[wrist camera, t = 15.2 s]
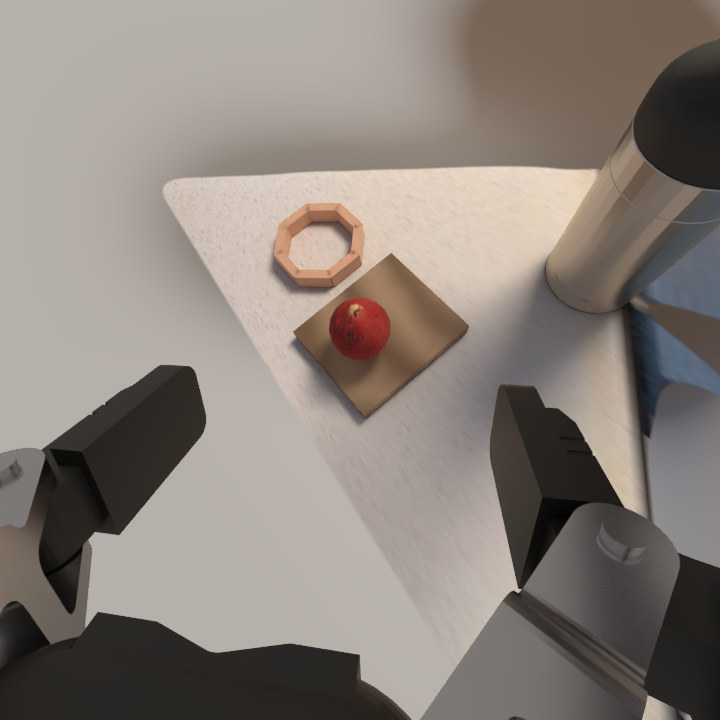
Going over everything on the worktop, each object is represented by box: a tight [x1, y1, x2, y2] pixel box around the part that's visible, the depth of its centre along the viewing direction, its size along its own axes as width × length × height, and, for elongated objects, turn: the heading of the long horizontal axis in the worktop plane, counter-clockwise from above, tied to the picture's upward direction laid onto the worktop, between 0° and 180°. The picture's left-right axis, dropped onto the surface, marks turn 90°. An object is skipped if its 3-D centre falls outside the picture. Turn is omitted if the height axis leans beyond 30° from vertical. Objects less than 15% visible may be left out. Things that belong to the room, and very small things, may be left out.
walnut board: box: [293, 253, 469, 418], centre depth 41 cm, size 14×12×2 cm
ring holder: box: [274, 203, 364, 287], centre depth 45 cm, size 10×10×2 cm
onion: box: [329, 297, 391, 360], centre depth 36 cm, size 6×6×8 cm
